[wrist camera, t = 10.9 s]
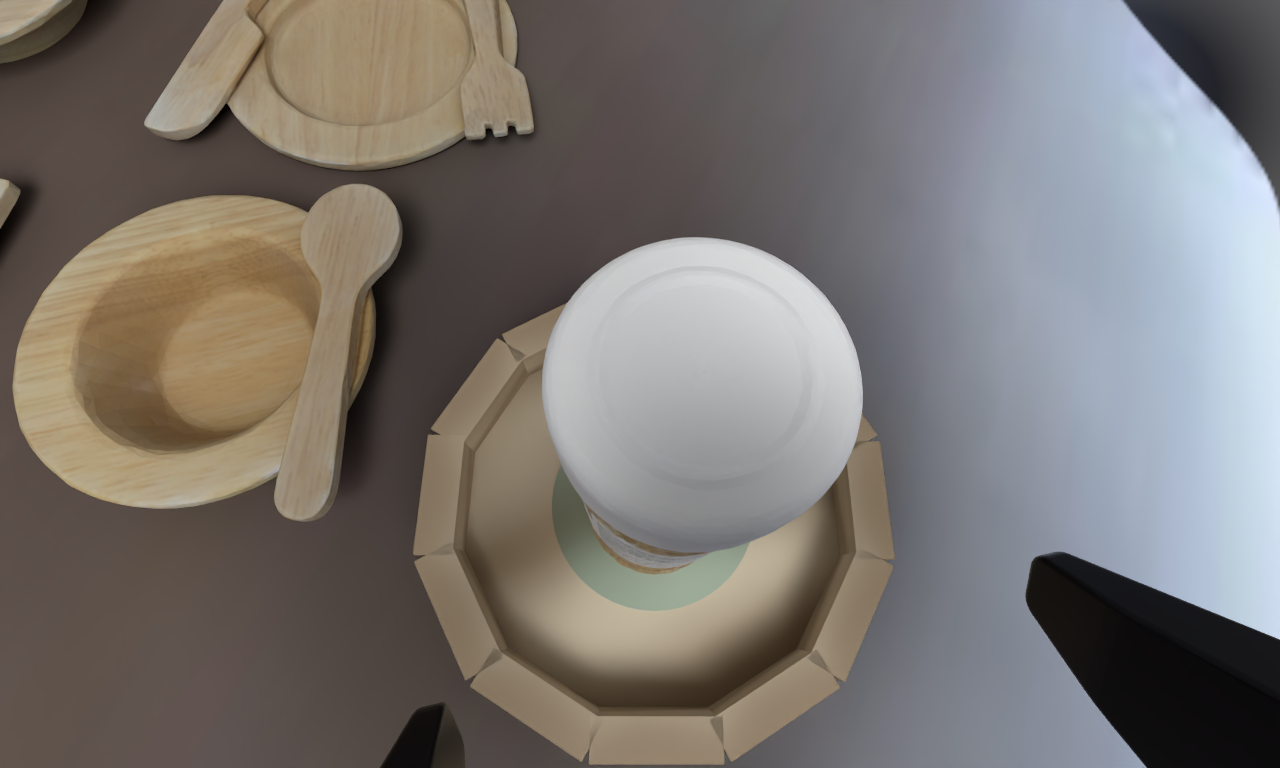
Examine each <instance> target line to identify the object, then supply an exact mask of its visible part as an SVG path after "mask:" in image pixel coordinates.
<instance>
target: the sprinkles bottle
mask: <svg viewBox="0 0 1280 768" xmlns="http://www.w3.org/2000/svg"><path fill="white" fill-rule="evenodd" d="M542 400H543V408H544V413H545V418H546V423H547V427H548V431H549V434H550V437H551V440H552V443H553V445H554V448H555V450H556V453H557V455H558V458H559V460H560V463H561V465H562V467H563V469H564V471H565V473H566V475H567V477H568V479H569V481H570V482H571V484H572V485H573V487H574V489H575V490H576V492H577V493H578V494H579V496H580V497H581V498H582V500H583V503H584V506H585V508H586V511H587V513H588V516H589V519H590V523H591V526H592V528H593V531H594V534H595V537H596V538H597V540H598V541H599V543H600V545H601V546H602V547H603V549H604V550H605V551H606V552H607V553H608V554H609V555H610V556H611V557H613V558H614V559H615V560H616V561H617V562H618V563H619V564H620V565H622V566H624V567H627V568H631V569H633V570H635V571H637V572H641V573H645V574H653V575H655V574H666V573H672V572H674V571H677V570H678V569H681V568H683V567H686V566H688V565H690V564H691V563H693V562H694V561H696V560H698V559H700V558H702V557H704V556H706V555H708V554H710V553H712V552H714V551H719V550H725V549H730V548H734V547H737V546H740V545H743V544H746V543H749V542H751V541H754V540H756V539H758V538H761V537H763V536H766V535H768V534H770V533H772V532H774V531H776V530H777V529H779V528H781V527H782V526H784V525H786V524H787V523H789V522H791V521H792V520H794V519H796V518H797V517H799V516H800V515H801V514H803V513H804V512H805V511H807V510H808V509H809V508H810V507H812V506H813V505H814V504H815V503H816V502H817V501H818V500H819V499H820V498H821V497H822V496H823V495H824V494H825V493H826V492H827V490H828V489H829V488H830V487H831V485H832V484H833V483H834V482H835V481H836V479H837V478H838V477H839V475H840V473H841V472H842V470H843V469H844V467H845V465H846V463H847V461H848V459H849V457H850V455H851V452H852V449H853V447H854V444H855V442H856V438H857V435H858V430H859V426H860V421H861V415H862V407H863V388H862V376H861V371H860V366H859V361H858V357H857V353H856V349H855V347H854V344H853V342H852V339H851V337H850V335H849V333H848V330H847V328H846V326H845V325H844V323H843V321H842V319H841V318H840V316H839V314H838V313H837V311H836V310H835V308H834V307H833V306H832V304H831V303H830V302H829V300H828V299H827V298H826V296H825V295H824V294H823V293H822V292H821V291H820V290H819V289H818V288H817V287H816V286H815V285H814V284H813V283H811V282H810V281H809V280H808V279H807V278H806V277H805V276H804V275H803V274H801V273H800V272H799V271H797V270H796V269H795V268H793V267H792V266H790V265H789V264H787V263H785V262H784V261H782V260H780V259H778V258H777V257H775V256H773V255H771V254H769V253H766V252H764V251H762V250H760V249H757V248H754V247H751V246H748V245H745V244H742V243H738V242H734V241H729V240H723V239H716V238H701V237H685V238H675V239H670V240H664V241H660V242H656V243H652V244H648V245H645V246H642V247H639V248H636V249H634V250H632V251H630V252H627V253H625V254H623V255H622V256H620V257H618V258H616V259H614V260H612V261H611V262H609V263H608V264H606V265H605V266H604V267H602V268H601V269H600V270H598V271H597V272H596V273H594V274H593V275H592V276H591V277H590V278H589V279H588V280H586V281H585V282H584V283H583V284H582V285H581V287H580V288H579V289H578V290H577V291H576V292H575V293H574V294H573V296H572V298H571V299H570V300H569V301H568V303H567V304H566V305H565V307H564V309H563V311H562V312H561V314H560V316H559V318H558V320H557V322H556V324H555V326H554V328H553V330H552V333H551V335H550V338H549V341H548V345H547V349H546V352H545V358H544V364H543V369H542Z"/></svg>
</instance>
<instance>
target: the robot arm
mask: <svg viewBox="0 0 1280 768" xmlns="http://www.w3.org/2000/svg"><path fill="white" fill-rule="evenodd" d="M1026 602H1027V605H1028V607H1029V610H1030V611H1031V613H1032V615H1033V616H1034V617H1035V619H1036V620H1037V622H1038V623H1039V625H1040V626H1041V628H1042V629H1043V631H1044V632H1045V633H1046V635H1047V636H1048V638H1049V639H1050V641H1051V642H1052V644H1053V645H1054V646H1055V648H1056V649H1057V651H1058V652H1059V654H1060V655H1061V657H1062V658H1063V659H1064V661H1065V662H1066V664H1067V665H1068V667H1069V668H1070V670H1071V671H1072V672H1073V674H1074V675H1075V677H1076V678H1077V680H1078V681H1079V683H1080V684H1081V685H1082V687H1083V688H1084V690H1085V691H1086V693H1087V694H1088V695H1089V697H1090V698H1091V699H1092V701H1093V702H1094V703H1095V705H1096V706H1097V707H1098V709H1099V710H1100V711H1101V712H1102V714H1103V715H1104V716H1105V717H1106V719H1107V720H1108V721H1109V722H1110V724H1111V725H1112V726H1113V727H1114V729H1115V730H1116V731H1117V732H1118V733H1119V735H1120V736H1121V737H1122V738H1123V739H1124V741H1125V742H1126V743H1127V744H1128V745H1129V747H1130V748H1131V749H1132V750H1133V752H1134V753H1135V754H1136V755H1137V756H1138V758H1139V759H1140V760H1141V761H1142V762H1143V764H1144V765H1145V766H1146V767H1147V768H1280V640H1279V639H1277V638H1275V637H1272V636H1270V635H1267V634H1265V633H1262V632H1260V631H1257V630H1255V629H1252V628H1250V627H1247V626H1245V625H1243V624H1240V623H1238V622H1235V621H1233V620H1230V619H1228V618H1225V617H1223V616H1220V615H1218V614H1215V613H1213V612H1211V611H1208V610H1206V609H1203V608H1201V607H1198V606H1196V605H1193V604H1191V603H1188V602H1186V601H1184V600H1181V599H1179V598H1176V597H1174V596H1171V595H1169V594H1166V593H1164V592H1161V591H1159V590H1156V589H1154V588H1152V587H1149V586H1147V585H1144V584H1142V583H1139V582H1137V581H1134V580H1132V579H1129V578H1127V577H1124V576H1122V575H1120V574H1117V573H1115V572H1112V571H1110V570H1107V569H1105V568H1102V567H1100V566H1097V565H1095V564H1092V563H1090V562H1088V561H1085V560H1083V559H1080V558H1078V557H1075V556H1073V555H1070V554H1068V553H1065V552H1053V553H1049V554H1045V555H1041V556H1037V557H1035V558H1034V560H1033V561H1032V563H1031V568H1030V573H1029V579H1028V584H1027V589H1026ZM380 768H465V753H464V744H463V740H462V737H461V734H460V732H459V729H458V727H457V724H456V722H455V719H454V717H453V714H452V712H451V710H450V707H449V706H448V705H447V704H446V703H444V702H443V703H442V702H441V703H437V704H433V705H429V706H425V707H421V708H419V709H417V710H416V711H415V712H414V713H413V715H412V716H411V718H410V719H409V721H408V723H407V724H406V726H405V728H404V729H403V731H402V732H401V734H400V736H399V737H398V739H397V741H396V742H395V744H394V746H393V747H392V749H391V751H390V752H389V754H388V755H387V757H386V759H385V760H384V762H383V764H382V765H381V767H380Z"/></svg>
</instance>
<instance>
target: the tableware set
mask: <svg viewBox="0 0 1280 768" xmlns="http://www.w3.org/2000/svg"><path fill="white" fill-rule="evenodd" d="M87 1H88V0H0V63H7V62H12V61H16V60H20V59H23V58H26V57H29V56H31V55H34V54H37V53H39V52H41V51H43V50H45V49H47V48H49V47H50V46H52V45H54V44H55V43H57V42H58V41H59V40H60V39H62V38H63V37H64V36H65V35H67V34H68V33H69V32H70V31H71V30H72V28H73V27H74V26H75V25H76V24H77V23H78V22H79V20H80V19H81V17H82V15H83V13H84V11H85V8H86V4H87ZM517 48H518V46H517V30H516V25H515V21H514V18H513V15H512V13H511V11H510V8H509V6H508V4H507V2H506V0H223V2H222V3H221V5H220V6H219V8H218V9H217V11H216V12H215V14H214V15H213V16H212V18H211V19H210V21H209V22H208V24H207V25H206V27H205V28H204V30H203V31H202V33H201V35H200V36H199V38H198V39H197V41H196V42H195V44H194V45H193V47H192V48H191V50H190V51H189V53H188V55H187V56H186V58H185V59H184V61H183V62H182V64H181V65H180V67H179V68H178V70H177V71H176V73H175V75H174V76H173V78H172V79H171V81H170V82H169V84H168V85H167V87H166V88H165V90H164V91H163V93H162V95H161V96H160V98H159V99H158V101H157V102H156V104H155V105H154V107H153V108H152V110H151V112H150V113H149V115H148V116H147V118H146V119H145V122H144V125H145V126H146V127H147V128H148V129H149V130H150V131H151V132H153V133H154V134H155V135H157V136H160V137H163V138H167V139H172V140H182V139H188V138H191V137H192V136H194V135H196V134H198V133H199V132H201V131H202V130H203V129H204V128H205V127H207V126H208V124H209V123H210V122H211V121H212V120H213V119H214V118H215V117H216V116H217V114H218V113H219V112H220V111H221V109H222V108H223V106H224V105H225V104H226V103H227V104H228V105H229V107H230V109H231V110H232V112H233V114H234V115H235V116H236V117H237V118H238V120H239V121H240V122H241V123H242V124H243V125H244V126H245V127H246V128H247V129H248V130H249V131H250V132H251V133H252V134H253V135H254V136H255V137H257V138H258V139H259V140H260V141H262V142H263V143H264V144H266V145H267V146H268V147H270V148H272V149H274V150H275V151H277V152H279V153H281V154H284V155H286V156H288V157H291V158H293V159H296V160H299V161H302V162H305V163H309V164H312V165H316V166H320V167H325V168H333V169H340V170H355V171H367V170H377V169H384V168H391V167H396V166H401V165H405V164H408V163H412V162H415V161H418V160H421V159H424V158H426V157H429V156H431V155H434V154H436V153H438V152H440V151H443V150H444V149H446V148H448V147H450V146H452V145H453V144H455V143H456V142H458V141H459V140H461V139H462V138H464V137H465V136H466V139H468V140H476V139H483V138H484V137H485V136H486V134H485V131H486V129H488V128H491V129H492V131H493V134H494V136H495V137H501V136H506V135H508V127H509V126H514V127H515V128H516V132H517V134H518V135H520V134H530V133H532V132H533V131H534V123H533V116H532V110H531V104H530V98H529V92H528V88H527V84H526V81H525V77H524V75H523V74H522V73H521V72H520V71H519V70H518V69H516V68H515V65H516V58H517ZM20 192H21V191H20V189H19V188H18V187H17V186H15V185H14V184H13V183H12V182H10V181H9V180H5V179H2V178H0V228H1V227H2V225H3V223H4V222H5V220H6V218H7V217H8V215H9V213H10V212H11V210H12V208H13V207H14V205H15V203H16V201H17V200H18V197H19V195H20ZM402 235H403V231H402V221H401V219H400V216H399V213H398V211H397V209H396V207H395V205H394V204H393V202H392V200H391V199H390V198H389V197H388V196H387V195H386V194H385V193H384V192H382V191H381V190H379V189H377V188H375V187H373V186H370V185H366V184H348V185H344V186H340V187H338V188H336V189H333V190H331V191H330V192H328V193H326V194H324V195H323V196H322V197H320V198H319V199H318V200H317V202H316V203H315V204H314V205H313V206H312V207H311V209H310V210H309V212H306V211H304V210H302V209H300V208H298V207H295V206H293V205H290V204H287V203H284V202H280V201H276V200H272V199H267V198H260V197H253V196H246V195H212V196H204V197H198V198H192V199H187V200H181V201H177V202H174V203H171V204H167V205H164V206H161V207H157V208H154V209H152V210H150V211H147V212H145V213H143V214H141V215H139V216H137V217H135V218H132V219H130V220H128V221H126V222H124V223H122V224H121V225H119V226H117V227H115V228H113V229H112V230H110V231H108V232H107V233H105V234H104V235H102V236H101V237H100V238H98V239H97V240H95V241H94V242H92V243H91V244H89V245H88V246H86V247H85V248H84V249H83V250H82V251H81V252H80V253H79V254H77V255H76V256H75V257H74V258H73V259H72V260H71V261H70V262H68V263H67V264H66V265H65V266H64V268H63V269H62V270H61V271H60V272H59V274H58V275H57V276H56V277H55V279H54V280H53V281H52V282H51V283H50V285H49V286H48V287H47V288H46V289H45V291H44V292H43V294H42V295H41V297H40V299H39V301H38V303H37V304H36V306H35V308H34V310H33V311H32V313H31V315H30V317H29V319H28V320H27V322H26V324H25V327H24V330H23V333H22V336H21V339H20V342H19V345H18V349H17V355H16V361H15V367H14V376H13V387H12V388H13V395H14V402H15V407H16V412H17V416H18V421H19V425H20V428H21V430H22V432H23V434H24V436H25V437H26V439H27V441H28V443H29V445H30V447H31V448H32V449H33V451H34V452H35V453H36V454H37V456H38V457H39V458H40V459H41V461H42V462H43V463H44V464H45V465H46V466H47V467H48V468H49V469H51V470H52V471H53V472H54V473H55V474H56V475H58V476H59V477H60V478H61V479H62V480H63V481H65V482H66V483H67V484H68V485H70V486H72V487H74V488H76V489H78V490H80V491H82V492H84V493H86V494H88V495H91V496H93V497H96V498H98V499H101V500H105V501H109V502H113V503H117V504H121V505H127V506H133V507H142V508H153V509H166V508H183V507H191V506H198V505H203V504H207V503H211V502H215V501H219V500H223V499H227V498H230V497H233V496H235V495H238V494H241V493H243V492H246V491H249V490H251V489H254V488H256V487H258V486H260V485H262V484H264V483H265V482H267V481H269V480H271V479H273V478H275V477H277V476H278V477H277V481H276V487H275V493H274V500H275V505H276V507H277V509H278V511H279V512H280V513H281V514H282V515H283V516H284V517H286V518H289V519H292V520H295V521H302V522H306V521H314V520H317V519H320V518H321V517H323V516H324V515H325V514H326V513H327V512H328V511H329V509H330V508H331V507H332V505H333V503H334V500H335V498H336V495H337V491H338V486H339V480H340V472H341V464H342V456H343V447H344V438H345V429H346V420H347V412H348V410H349V408H350V407H351V405H352V403H353V401H354V400H355V398H356V396H357V394H358V392H359V390H360V388H361V386H362V384H363V381H364V379H365V377H366V374H367V371H368V368H369V365H370V362H371V359H372V355H373V349H374V343H375V337H376V309H375V301H374V297H373V293H372V289H371V286H372V285H373V284H374V283H375V282H376V281H377V280H378V279H379V278H380V277H381V276H382V275H383V274H384V273H385V272H386V271H387V270H388V269H389V268H390V266H391V265H392V263H393V262H394V260H395V259H396V257H397V255H398V252H399V249H400V247H401V243H402Z"/></svg>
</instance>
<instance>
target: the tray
mask: <svg viewBox="0 0 1280 768" xmlns="http://www.w3.org/2000/svg"><path fill="white" fill-rule="evenodd" d="M566 304H567V303H566ZM566 304H563V305H561V306H559V307H557V308H555V309H553V310H551V311H549V312H547V313H545V314H543V315H541V316H539V317H537V318H535V319H532V320H530V321H528V322H526V323H524V324H522V325H520V326H518V327H516V328H514V329H512V330H510V331H508V332H506V333H504V334H502V336H503V338H504V340H505V342H503V341H501V340H500V339H498V338H497V339H496V340H495V342H494V343H493V344H492V346H491V347H490V348H489V350H488V351H487V352H486V354H485V355H484V357H483V358H482V359H481V361H480V362H479V363H478V365H477V366H476V367H475V369H474V370H473V372H472V373H471V374H470V376H469V377H468V378H467V380H466V381H465V382H464V384H463V385H462V387H461V388H460V389H459V391H458V392H457V393H456V395H455V396H454V397H453V399H452V400H451V401H450V403H449V404H448V406H447V407H446V408H445V410H444V411H443V412H442V414H441V415H440V416H439V418H438V419H437V421H436V422H435V423H434V425H433V426H432V427H431V430H433V431H434V432H435V433H436V434H437V435H428V439H427V447H426V455H425V463H424V471H423V478H422V486H421V494H420V502H419V510H418V518H417V526H416V534H415V541H414V549H413V555H416V556H421V558H420V559H418V560H416V561H414V563H415V565H416V568H417V570H418V572H419V575H420V577H421V579H422V582H423V584H424V586H425V589H426V591H427V593H428V595H429V598H430V600H431V602H432V605H433V607H434V609H435V612H436V614H437V616H438V619H439V621H440V623H441V626H442V628H443V630H444V633H445V635H446V637H447V639H448V642H449V644H450V646H451V649H452V651H453V653H454V656H455V658H456V660H457V663H458V665H459V667H460V670H461V672H462V674H463V676H464V679H465V680H467V679H469V678H471V677H473V676H475V675H477V676H476V677H475V679H474V680H473V682H472V684H471V685H470V687H471V688H473V689H474V690H476V691H477V692H479V693H480V694H482V695H483V696H485V697H486V698H488V699H489V700H491V701H492V702H494V703H495V704H497V705H498V706H499V707H501V708H502V709H504V710H505V711H507V712H508V713H510V714H511V715H513V716H514V717H516V718H517V719H519V720H520V721H522V722H523V723H525V724H526V725H527V726H529V727H530V728H532V729H533V730H535V731H536V732H538V733H539V734H541V735H542V736H544V737H545V738H547V739H548V740H550V741H551V742H553V743H554V744H555V745H557V746H558V747H560V748H561V749H563V750H564V751H566V752H567V753H569V754H570V755H572V756H573V757H575V758H576V759H578V760H579V761H581V762H582V760H583V758H584V757H585V755H586V753H587V751H588V749H589V764H613V765H724V752H725V753H726V755H727V756H728V758H729V759H730V761H731V762H732V761H734V760H735V759H737V758H738V757H740V756H741V755H743V754H744V753H746V752H747V751H749V750H750V749H751V748H753V747H754V746H756V745H757V744H759V743H760V742H762V741H763V740H765V739H766V738H768V737H769V736H771V735H772V734H773V733H775V732H776V731H778V730H779V729H781V728H782V727H784V726H785V725H787V724H788V723H790V722H791V721H792V720H794V719H795V718H797V717H798V716H800V715H801V714H803V713H804V712H806V711H807V710H809V709H810V708H812V707H813V706H814V705H816V704H817V703H819V702H820V701H822V700H823V699H825V698H826V697H828V696H829V695H831V694H832V693H833V692H835V691H836V690H838V689H839V688H840V686H839V685H838V683H837V681H836V680H835V679H838V680H840V681H843V682H845V681H846V679H847V676H848V674H849V672H850V669H851V667H852V665H853V662H854V660H855V658H856V655H857V653H858V650H859V648H860V646H861V643H862V641H863V639H864V636H865V634H866V632H867V629H868V627H869V624H870V622H871V620H872V617H873V615H874V613H875V610H876V608H877V606H878V603H879V601H880V598H881V596H882V594H883V591H884V589H885V587H886V584H887V582H888V580H889V577H890V575H891V572H892V570H893V568H894V566H893V565H891V564H889V563H888V562H886V560H893V559H895V555H894V547H893V539H892V531H891V524H890V516H889V508H888V500H887V492H886V484H885V476H884V469H883V461H882V453H881V445H880V441H870V440H871V439H873V438H874V437H876V436H878V435H877V434H876V433H875V431H874V430H873V428H872V427H871V425H870V424H869V423H868V421H867V420H866V418H865V417H864V416H863V414H862V415H861V421H860V426H859V430H858V435H857V438H856V442H855V444H854V447H853V449H852V452H851V455H850V457H849V459H848V461H847V463H846V465H845V467H844V469H843V470H842V472H841V473H840V475H839V477H838V478H837V479H836V481H835V482H834V483H833V484H832V485H831V487H830V488H829V489H828V490H827V492H826V493H825V494H824V495H823V496H822V497H821V498H820V499H819V500H818V501H817V502H816V503H815V504H814V505H813V506H812V507H810V508H809V509H808V510H807V511H805V512H804V513H803V514H801V515H800V516H799V517H797V518H796V519H794V520H792V521H791V522H789V523H787V524H786V525H784V526H782V527H781V528H779V529H777V530H776V531H774V532H772V533H770V534H768V535H766V536H763V537H761V538H758V539H756V540H754V541H751V542H749V543H746V544H743V545H740V546H737V547H734V548H730V549H725V550H719V551H714V552H712V553H710V554H708V555H706V556H704V557H702V558H700V559H698V560H696V561H694V562H693V563H691V564H690V565H688V566H686V567H683V568H681V569H678V570H677V571H674V572H672V573H666V574H655V575H653V574H645V573H641V572H637V571H635V570H633V569H631V568H627V567H624V566H622V565H620V564H619V563H618V562H617V561H616V560H615V559H614V558H613V557H611V556H610V555H609V554H608V553H607V552H606V551H605V550H604V549H603V547H602V546H601V545H600V543H599V541H598V540H597V538H596V537H595V534H594V531H593V528H592V526H591V523H590V519H589V516H588V513H587V511H586V508H585V506H584V503H583V500H582V498H581V497H580V496H579V494H578V493H577V492H576V490H575V489H574V487H573V485H572V484H571V482H570V481H569V479H568V477H567V475H566V473H565V471H564V469H563V467H562V465H561V463H560V460H559V458H558V455H557V453H556V450H555V448H554V445H553V443H552V440H551V437H550V434H549V431H548V427H547V423H546V418H545V413H544V408H543V400H542V369H543V364H544V358H545V352H546V349H547V345H548V341H549V338H550V335H551V333H552V330H553V328H554V326H555V324H556V322H557V320H558V318H559V316H560V314H561V312H562V311H563V309H564V307H565V305H566Z"/></svg>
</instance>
